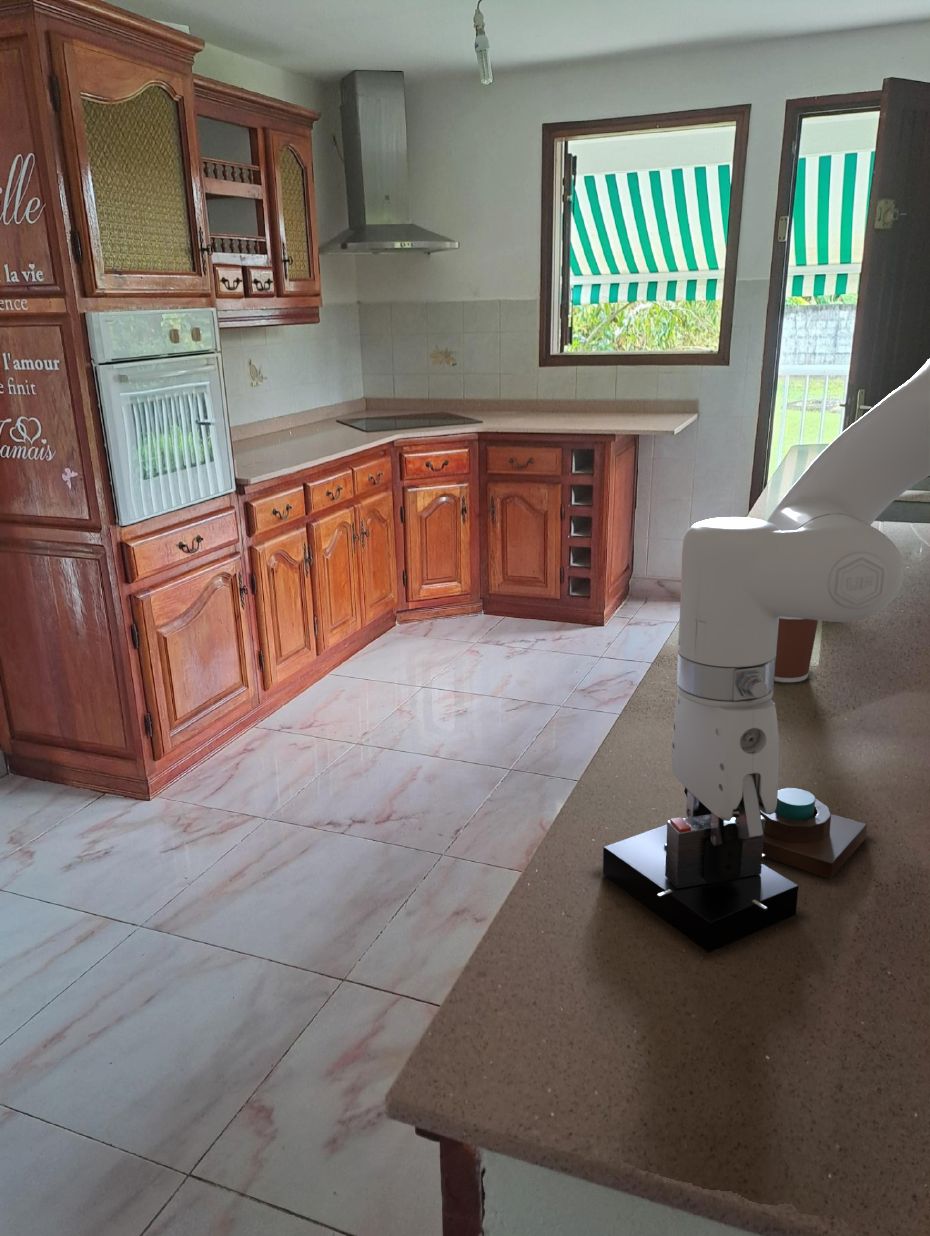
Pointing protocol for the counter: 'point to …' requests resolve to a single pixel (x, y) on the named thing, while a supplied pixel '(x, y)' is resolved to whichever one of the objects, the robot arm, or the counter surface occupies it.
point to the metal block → (702, 851)
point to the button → (795, 804)
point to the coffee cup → (794, 648)
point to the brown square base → (812, 840)
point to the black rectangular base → (699, 893)
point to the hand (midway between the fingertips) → (713, 869)
